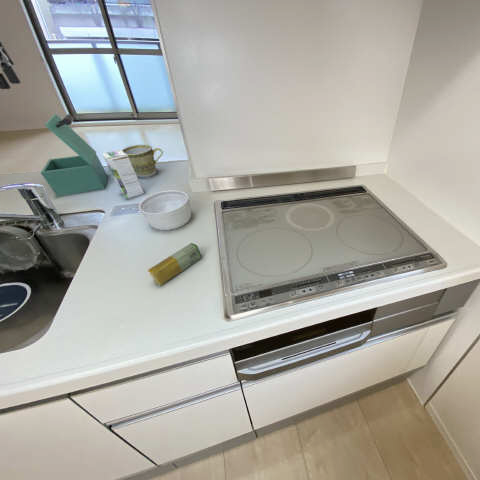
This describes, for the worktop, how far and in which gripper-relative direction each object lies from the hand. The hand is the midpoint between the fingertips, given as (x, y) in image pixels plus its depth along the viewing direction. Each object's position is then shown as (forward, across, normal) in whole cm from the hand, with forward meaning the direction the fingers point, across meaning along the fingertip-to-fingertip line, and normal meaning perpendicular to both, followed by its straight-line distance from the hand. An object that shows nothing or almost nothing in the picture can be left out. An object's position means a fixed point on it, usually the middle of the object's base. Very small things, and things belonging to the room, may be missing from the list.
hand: (11, 86), depth 76 cm
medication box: (+31, +63, +32) cm, 77 cm away
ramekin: (+31, +40, +32) cm, 60 cm away
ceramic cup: (+31, +2, +26) cm, 41 cm away
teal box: (+31, +4, +4) cm, 32 cm away
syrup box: (+31, +17, +20) cm, 41 cm away
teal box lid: (+15, +4, +8) cm, 18 cm away
